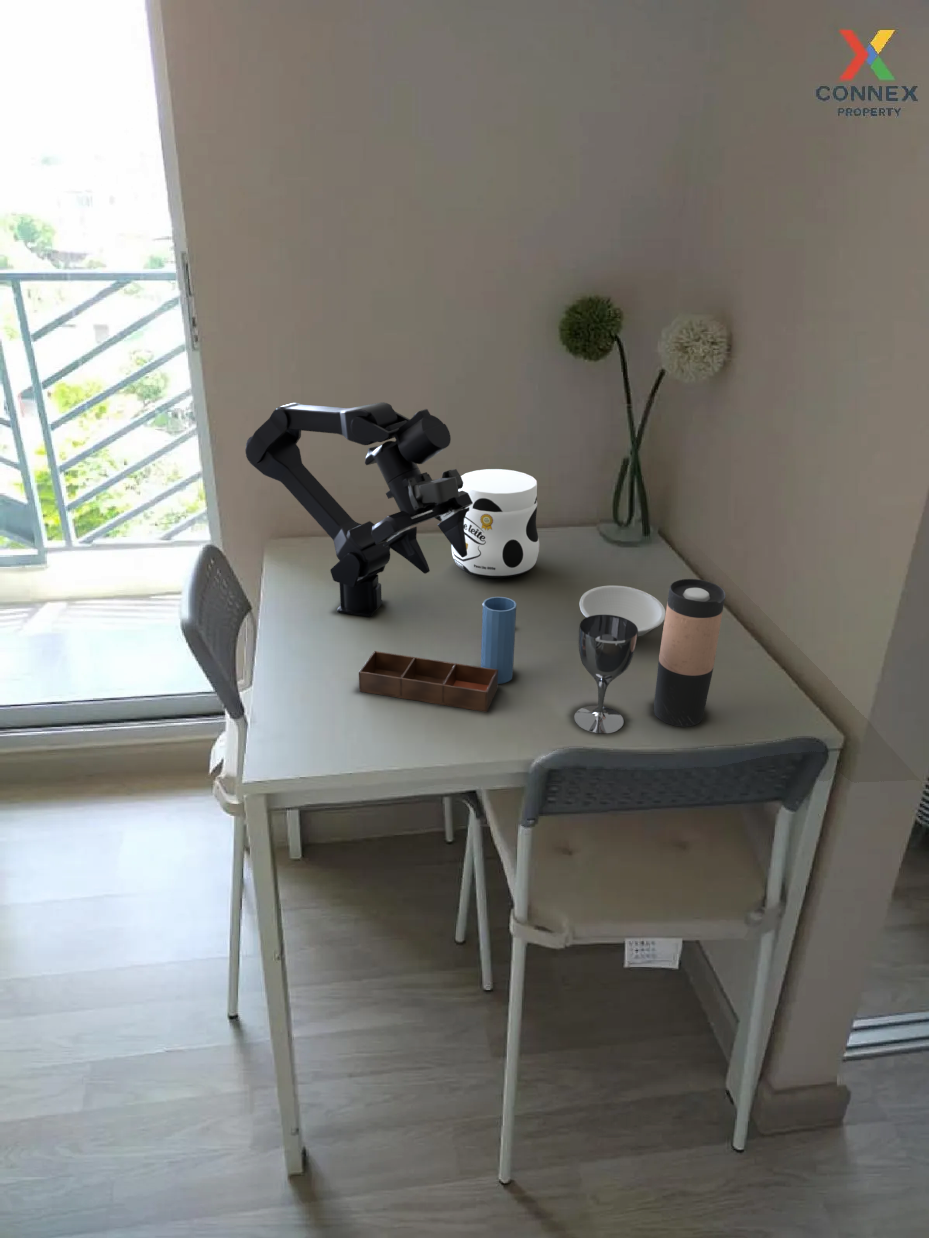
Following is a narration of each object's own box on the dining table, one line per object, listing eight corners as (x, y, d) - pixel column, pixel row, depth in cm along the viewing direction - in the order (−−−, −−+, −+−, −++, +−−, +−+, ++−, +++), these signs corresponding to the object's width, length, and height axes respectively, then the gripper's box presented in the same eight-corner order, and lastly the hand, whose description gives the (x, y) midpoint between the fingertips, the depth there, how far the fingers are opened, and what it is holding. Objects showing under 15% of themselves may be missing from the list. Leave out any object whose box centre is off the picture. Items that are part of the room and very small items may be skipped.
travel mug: (645, 699, 131) (662, 578, 122) (695, 698, 132) (715, 577, 123) (660, 728, 125) (678, 602, 116) (712, 727, 125) (734, 601, 116)
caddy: (359, 691, 132) (358, 671, 130) (375, 669, 138) (374, 650, 136) (486, 712, 128) (487, 692, 126) (497, 688, 133) (498, 669, 132)
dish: (572, 609, 158) (574, 584, 156) (651, 611, 158) (654, 586, 156) (583, 657, 143) (585, 630, 140) (671, 659, 143) (675, 632, 140)
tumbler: (477, 681, 135) (479, 608, 130) (484, 665, 140) (487, 595, 134) (508, 686, 134) (512, 613, 129) (515, 670, 139) (519, 599, 133)
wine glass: (613, 741, 122) (624, 646, 115) (561, 723, 125) (569, 631, 118) (635, 715, 128) (646, 623, 121) (585, 698, 131) (594, 609, 124)
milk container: (437, 576, 170) (437, 487, 162) (470, 545, 185) (472, 463, 177) (521, 592, 165) (525, 501, 156) (549, 559, 179) (554, 474, 171)
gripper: (391, 467, 128) (438, 562, 128) (471, 444, 141) (514, 530, 141) (350, 498, 136) (395, 588, 136) (430, 473, 149) (471, 555, 149)
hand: (446, 564), depth 140 cm, fingers open, 9 cm apart
